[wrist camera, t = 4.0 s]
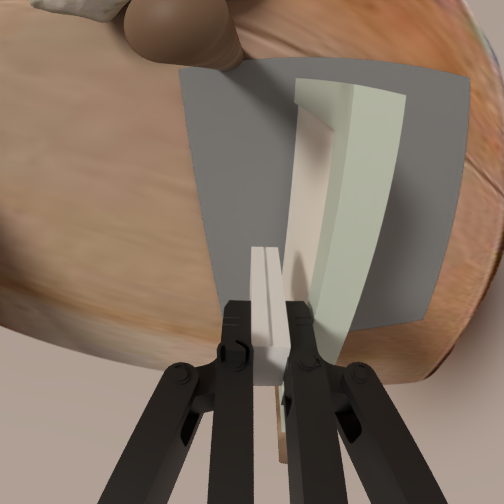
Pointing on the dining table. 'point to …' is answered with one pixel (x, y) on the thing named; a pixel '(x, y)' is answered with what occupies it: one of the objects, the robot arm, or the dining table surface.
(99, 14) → the ceramic sculpture
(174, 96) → the dining table surface
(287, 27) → the dining table surface
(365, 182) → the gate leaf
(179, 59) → the gate posts
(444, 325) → the dining table surface
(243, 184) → the mat
